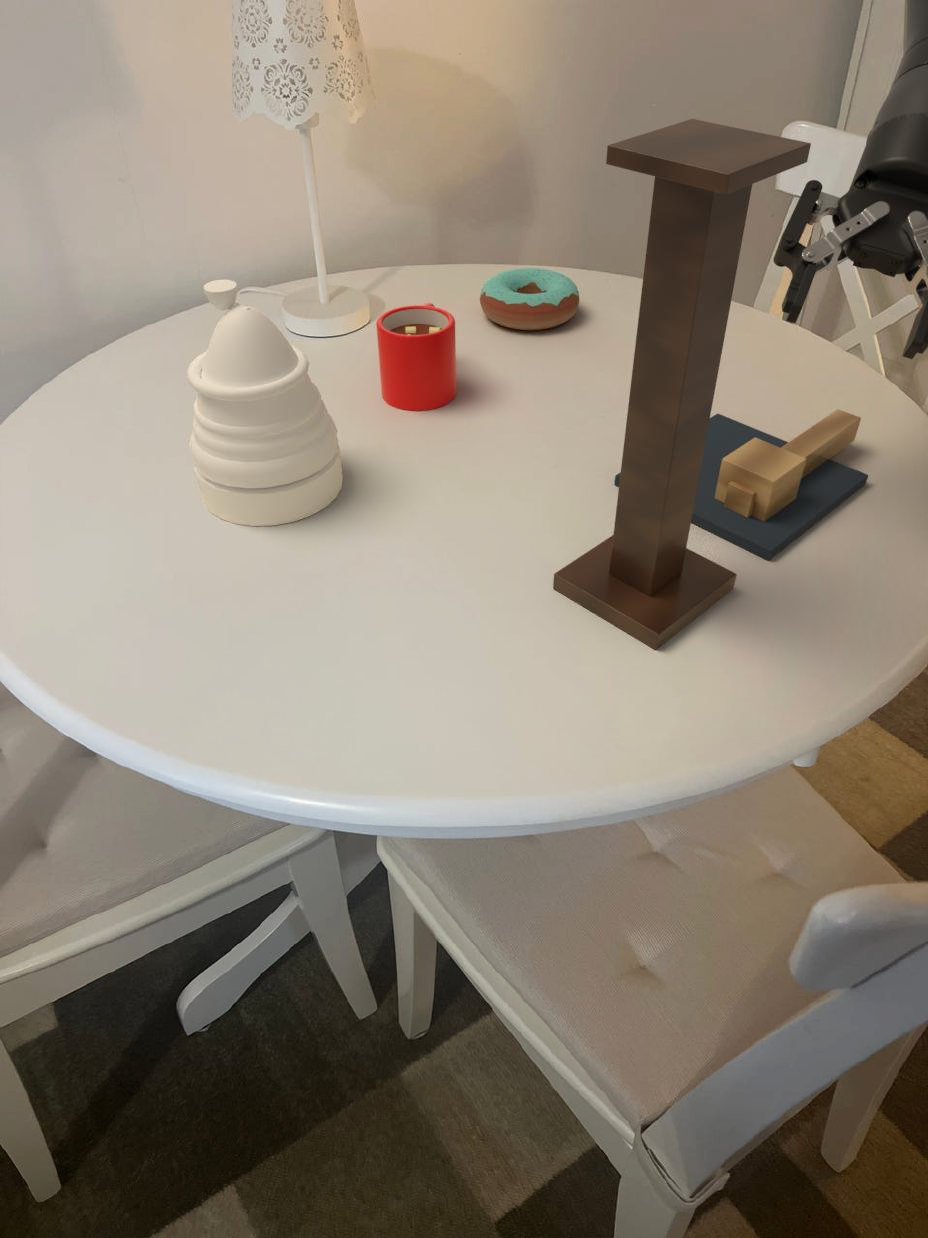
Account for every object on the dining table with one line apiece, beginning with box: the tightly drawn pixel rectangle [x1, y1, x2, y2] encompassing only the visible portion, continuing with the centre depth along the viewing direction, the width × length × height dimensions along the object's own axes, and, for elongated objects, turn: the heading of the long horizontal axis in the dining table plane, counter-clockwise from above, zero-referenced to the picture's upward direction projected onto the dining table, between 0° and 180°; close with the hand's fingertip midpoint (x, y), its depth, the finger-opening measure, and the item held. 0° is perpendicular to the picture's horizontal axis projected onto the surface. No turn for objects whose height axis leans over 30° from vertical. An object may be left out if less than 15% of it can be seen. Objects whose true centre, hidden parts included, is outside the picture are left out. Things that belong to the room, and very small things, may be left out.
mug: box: [375, 302, 457, 412], centre depth 96 cm, size 8×12×8 cm, turn 172°
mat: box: [613, 413, 869, 562], centre depth 83 cm, size 16×16×1 cm
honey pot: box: [186, 279, 344, 527], centre depth 78 cm, size 13×13×18 cm
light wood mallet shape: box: [715, 408, 862, 522], centre depth 82 cm, size 5×18×4 cm, turn 134°
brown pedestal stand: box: [552, 118, 812, 651], centre depth 62 cm, size 10×10×32 cm
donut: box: [479, 267, 580, 331], centre depth 111 cm, size 12×12×4 cm
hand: (851, 334), depth 66 cm, fingers open, 8 cm apart
